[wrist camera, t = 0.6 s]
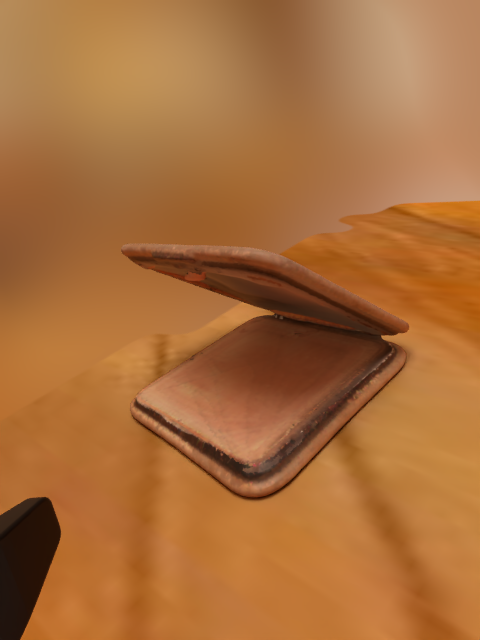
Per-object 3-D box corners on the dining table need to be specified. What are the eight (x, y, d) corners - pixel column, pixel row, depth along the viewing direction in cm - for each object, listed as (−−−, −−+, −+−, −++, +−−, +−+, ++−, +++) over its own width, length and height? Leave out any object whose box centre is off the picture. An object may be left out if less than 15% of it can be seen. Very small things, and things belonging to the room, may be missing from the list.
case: (424, 354, 38) (405, 173, 31) (262, 519, 27) (182, 295, 20) (267, 318, 53) (232, 192, 47) (124, 414, 42) (52, 267, 36)
